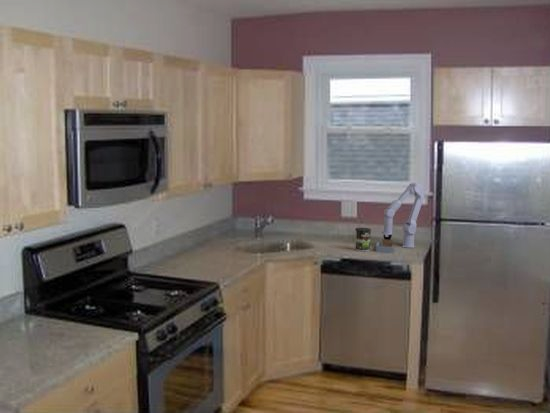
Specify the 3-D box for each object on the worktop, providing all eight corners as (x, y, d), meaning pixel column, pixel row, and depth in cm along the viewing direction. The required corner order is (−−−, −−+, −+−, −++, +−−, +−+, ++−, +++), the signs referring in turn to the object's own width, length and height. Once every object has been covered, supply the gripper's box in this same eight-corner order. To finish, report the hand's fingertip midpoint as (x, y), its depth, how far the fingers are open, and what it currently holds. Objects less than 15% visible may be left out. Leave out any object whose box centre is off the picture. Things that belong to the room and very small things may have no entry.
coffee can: (372, 250, 413) (373, 229, 411) (359, 251, 409) (360, 230, 407) (365, 247, 422) (365, 227, 420) (351, 248, 418) (352, 227, 416)
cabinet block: (382, 247, 423) (383, 239, 422) (392, 248, 421) (392, 239, 420) (382, 249, 419) (382, 240, 418) (391, 250, 417) (392, 241, 416)
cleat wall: (378, 246, 428) (378, 240, 427) (395, 247, 424) (395, 241, 424) (375, 251, 410) (375, 245, 410) (393, 252, 407) (393, 247, 407)
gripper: (383, 223, 432) (382, 243, 434) (381, 227, 418) (380, 247, 420) (393, 224, 430) (392, 243, 432) (391, 228, 416) (390, 247, 418)
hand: (387, 245), depth 426 cm, fingers closed
